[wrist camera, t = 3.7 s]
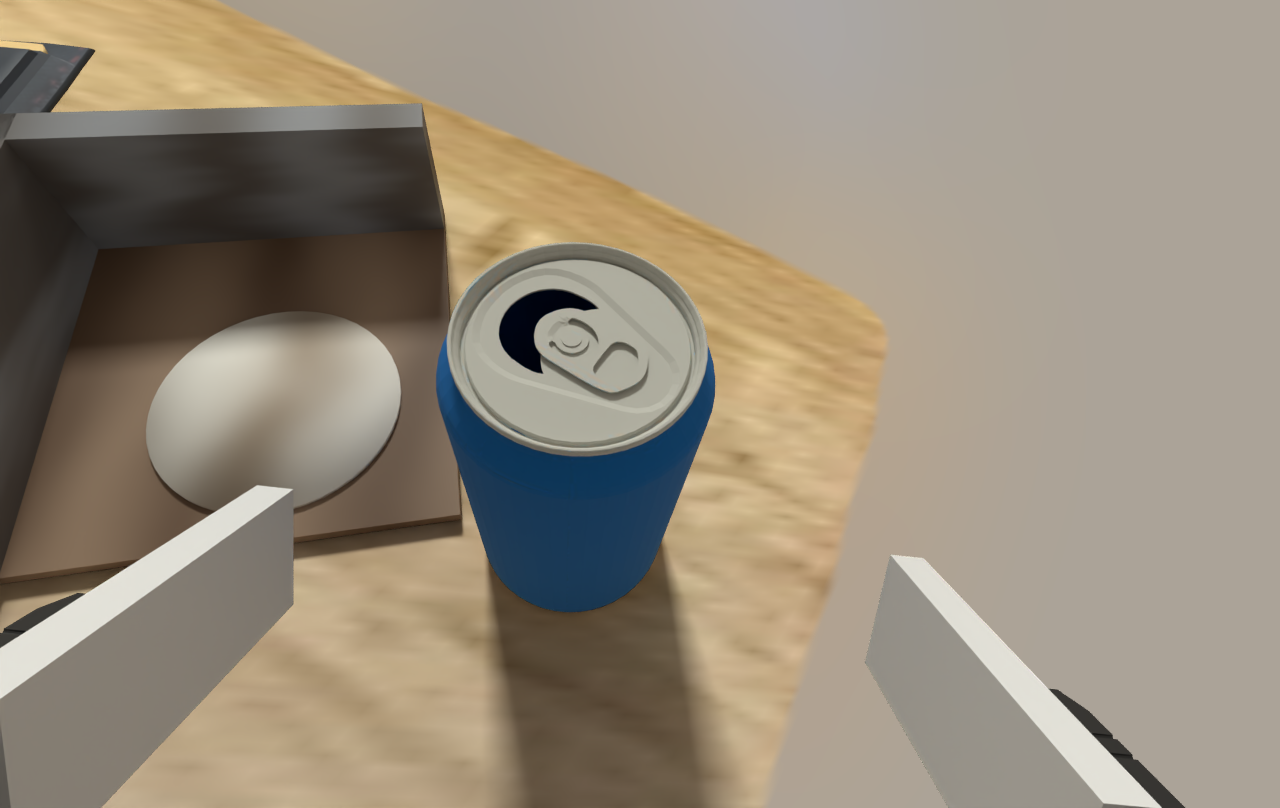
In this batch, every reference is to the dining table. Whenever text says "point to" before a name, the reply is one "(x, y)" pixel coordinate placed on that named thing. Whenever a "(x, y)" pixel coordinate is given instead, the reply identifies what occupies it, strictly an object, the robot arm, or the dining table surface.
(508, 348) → the beverage can
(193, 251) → the corner tray
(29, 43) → the dark grey flat rectangle
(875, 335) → the dining table surface
